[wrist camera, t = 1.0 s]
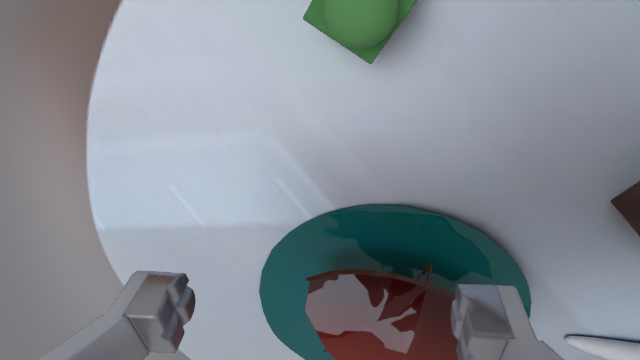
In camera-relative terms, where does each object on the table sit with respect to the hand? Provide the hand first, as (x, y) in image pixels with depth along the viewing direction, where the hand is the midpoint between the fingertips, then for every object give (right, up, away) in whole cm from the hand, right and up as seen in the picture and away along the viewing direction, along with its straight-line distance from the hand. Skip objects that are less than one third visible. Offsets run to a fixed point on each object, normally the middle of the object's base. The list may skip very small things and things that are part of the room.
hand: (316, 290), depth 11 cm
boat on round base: (+7, -10, +30) cm, 32 cm away
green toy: (+3, +15, +12) cm, 20 cm away
